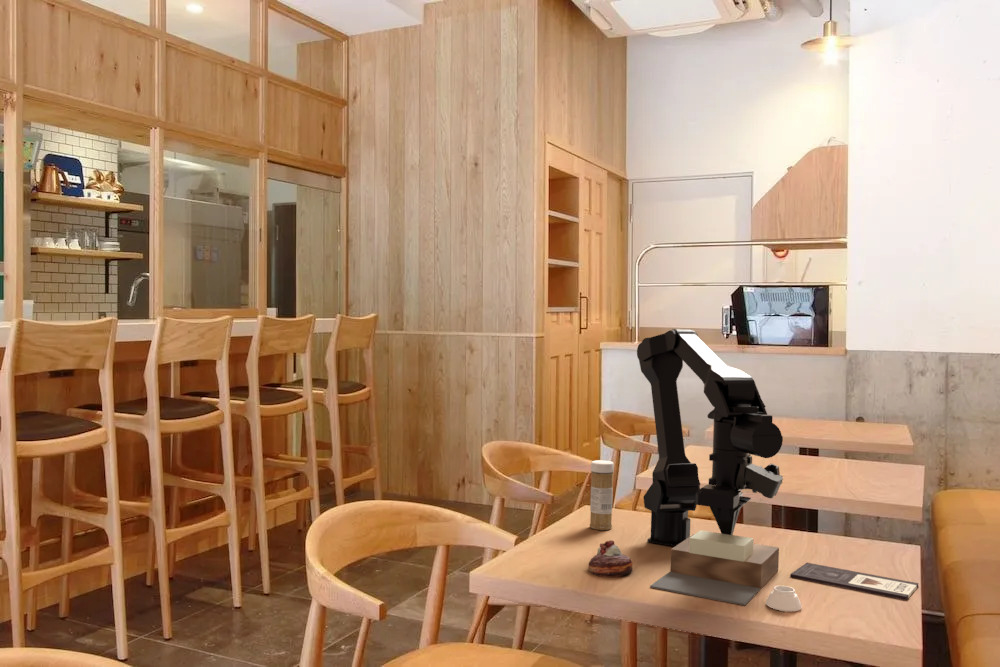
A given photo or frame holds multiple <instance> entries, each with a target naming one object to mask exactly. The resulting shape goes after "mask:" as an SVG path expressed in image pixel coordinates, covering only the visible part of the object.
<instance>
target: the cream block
mask: <svg viewBox="0 0 1000 667" xmlns="http://www.w3.org/2000/svg"><path fill="white" fill-rule="evenodd" d="M693 534H694V535H693ZM693 534H692V535H693V536H692V535H691V536H692V537H690V543H689V553H693V554H699V555H705V556H712V557H718V558H724V559H730V560H736V561H742V562H744V561H745V560H746V559H747V558H748V557H749V556H750V555H751V554H752V553H753V544H754V538H753V537H747V536H741V535H740V536H739V535H735V534H733V535H729V534H722V533H721V532H715V531H710V530H709V531H708V530H701V529H700V530H698V531H697V532H696V533H693Z"/></svg>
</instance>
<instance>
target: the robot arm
mask: <svg viewBox="0 0 1000 667" xmlns="http://www.w3.org/2000/svg"><path fill="white" fill-rule="evenodd" d="M636 355H637V359H638V361H639V367H640V368H639V369H640V371H641V373H642V374H643V376H644V377H645V379H646V380H647V381H648V383H649V384H650V387H651V388H650V389H651V398H652V407H653V416H654V424H655V432H656V442H657V449H658V452H657V453H658V460H657V462H656V464H655V467H654V468H653V471H652V483H651V485H649V486H650V487H649V488H648V489H647V490H646V492H645V493H644V495H643V506H644V508H645V509H646V510H649V511H651V514H650V516H651V517H650V537H648V538H647V543H652V544H657V545H664V546H668V547H669V546H670V547H675V546H677V545H678V544H680V543H681V542H683V541H684V540H686V539H687V538H689V537H690V536H691V518H689V511H692V512H693V511H694V512H695V511H696V509H697V506H703V507H709V509H710V511H711V513H712V515H713V518H714V519H715V521H716V524H717V526H718V528H719V531H720V533H722V534H729V535H734V532H735V527H736V525H737V521H738V517H739V514H740V511H741V509H742V507H744V505H746V504H747V503H749V501H750V500H752V497H749V496H744V494H743V492H742V490H752V493H754V494H757V493H759V494H761V495H762V496H763V497H765V498H767V499H773V498H774V497H775V496H777V495H778V491H779V490H780V487H781V485H782V484H783V480H784V477H783V475H781V473H780V467H779V466H778V465H777V464H774V463H769V464H768V465H767V466H765V467H763V466H762V465H757V464H754V463H753V456H756V457H760V458H763V459H769V458H773V457H775V456H776V455H777V454H778V453H779V452H780V450H781V448H782V445H783V435H782V432H781V430H780V428H779V426H778V425H776V424H775V423H773V415H771V414H768V412H767V409H766V405H765V403H764V401H763V399H762V397H761V395H760V392H759V390H758V388H757V385H756V381H755V380H754V379H753V377H752V376H751V375H749V374H747V373H746V372H745V371H743V370H741V369H739V368H736V367H732V366H730V365H728V364H726V363H725V362H724V361H723V360H722V359H721V358H720V357H718V355H717V354H716V353H715V352H714V351H713V350H712V349H711V348H709V346H707V345H706V343H705V342H704V341H703V340H702V339H700V337H699V334H698V333H697V331H695V330H693V329H692V328H691V329H689V328H688V329H687V328H672V329H671V330H668V331H666V332H664V333H661V334H656V335H654V336H651V337H644V338H643V339H642V341H641V342H640V343H639V344H638V346H637V348H636ZM684 363H685V364H686V366H688V367H689V369H690V370H691V371H692V372H693V373H694V374H695V375H696V376H697V377H698V378H699V379H700V380H701V381H702V383H703V384H704V385H703V394H704V395H705V397H706V398H707V400H708V401H709V403H710V404H711V406H712V407H713V409H712V410H711V411H710V412H708V414H707V418H708V419H711V420H713V430H712V432H713V436H712V452H711V453H710V454H709V455H708V456H709V457H708V458H709V459H708V460H709V462H710V461H711V462H712V463H711V466H712V470H711V472H712V473H711V477H709V478H708V484H706V485H704V486H702V487H701V482H700V479H699V477H700V476H699V467H698V465H697V463H696V462H695V463H693V462H691V461H690V460H689V459H688V457H687V455H686V451H685V449H686V448H685V443H684V442H685V441H684V433H683V426H682V425H683V424H682V417H681V409H680V401H679V392H678V384H677V380H678V378H679V377H680V376H679V375H681V374H680V373H681V371H682V370H683V367H684Z"/></svg>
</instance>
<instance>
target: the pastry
mask: <svg viewBox="0 0 1000 667" xmlns="http://www.w3.org/2000/svg"><path fill="white" fill-rule="evenodd" d="M633 565H634V564H633V561H632V559H631V558H630V557H629V556H627V555H625V554H623V553H622V551H621V549H620V548H619V546H618V545H617V544H615V541H614V540H606V541H605V542H604V543H600V544H599V548H597V553H596V554H595V555H594V556H593V557H592V558H591V559H590V560H589V562H588V566H587V571H588V572H589V573H591V574H592V575H594V576H596V577H597V576H598V577H603V578H618V577H619V578H620V577H623V576H626V575H629V574H631V573H632V572H633Z"/></svg>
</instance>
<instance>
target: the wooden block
mask: <svg viewBox="0 0 1000 667" xmlns="http://www.w3.org/2000/svg"><path fill="white" fill-rule="evenodd" d="M694 534H695V533H693V534H691V535H690V537H692V536H693V535H694ZM690 537H689V538H687V539H686V540H684V541H683V542H681V543H680V544H678V545H677V546H673V547H672V548H671V549H670V571H669V572H674V573H679V574H685V575H690V576H696V577H702V578H707V579H713V580H718V581H724V582H729V583H735V584H740V585H746V586H751V587H757V588H760V590H762V589H763V587H764V586H766V584H767V583H769V581H770V580H771V579H772V577H774V576H775V575H776V574H775V573H778V571H779V563H780V562H779V558H780V556H779V555H780V547H777V546H773V545H766V544H765V545H764V544H760V543H753V553H752V554H751V555H750V556H749V557H748V558H747V559H746V560H745V561H744V562H742V561H736V560H730V559H724V558H718V557H712V556H705V555H699V554H693V553H689V543H690ZM773 575H774V576H773Z"/></svg>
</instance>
